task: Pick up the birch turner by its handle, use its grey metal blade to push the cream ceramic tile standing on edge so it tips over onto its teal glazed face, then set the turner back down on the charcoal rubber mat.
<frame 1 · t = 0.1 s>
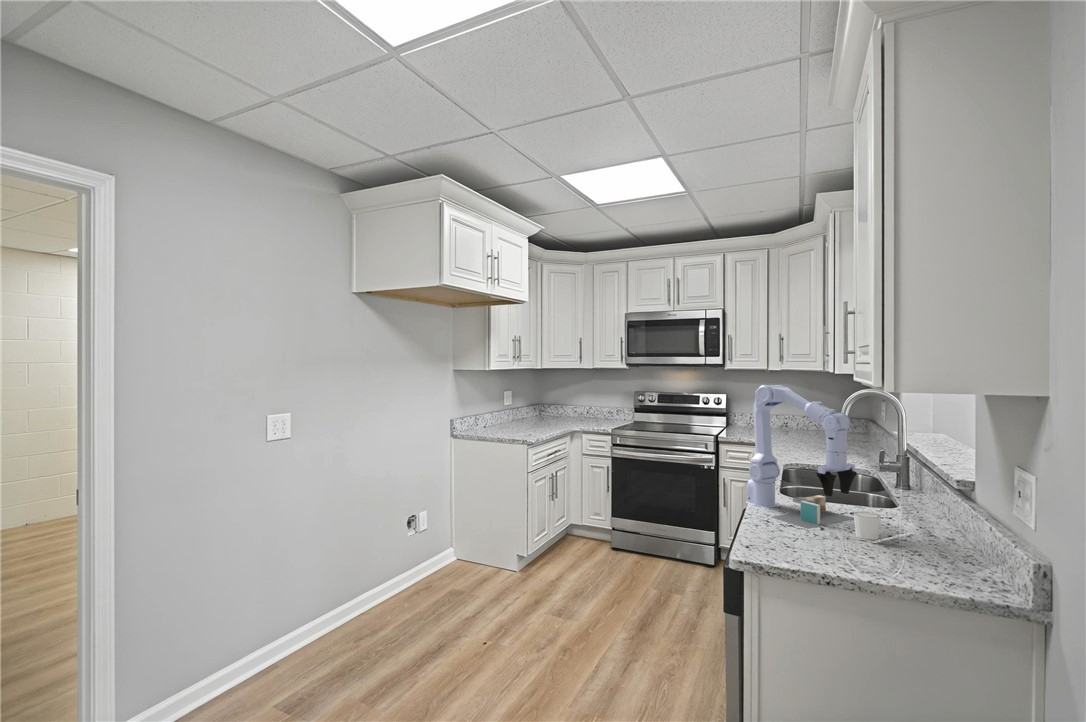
hand: (836, 494, 165), 10 cm above the worktop, tool pointing down, fingers open, 7 cm apart
tile: (810, 521, 168), point 1 cm above the worktop, touching mat
turner: (814, 511, 179), point 1 cm above the worktop, touching mat
white cup: (867, 539, 153), on the worktop
mat: (813, 519, 172), on the worktop
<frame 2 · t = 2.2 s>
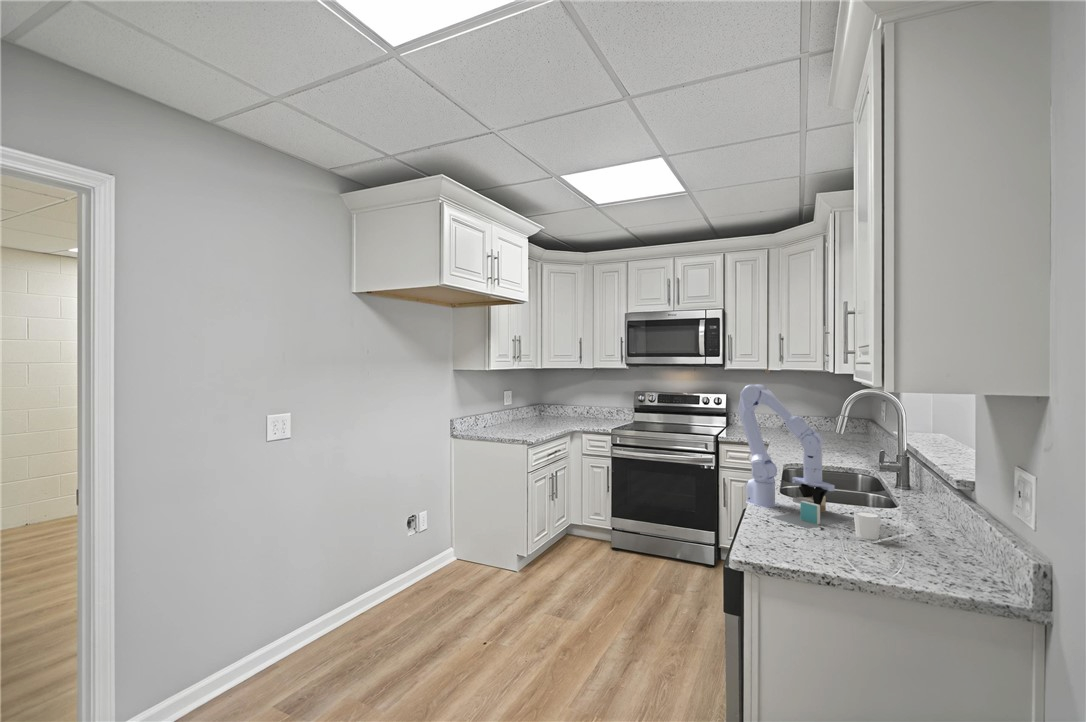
hand: (812, 508, 179), 2 cm above the worktop, tool pointing down, fingers closed on turner, 2 cm apart
turner: (814, 511, 179), point 1 cm above the worktop, touching gripper, mat
everything else where it was.
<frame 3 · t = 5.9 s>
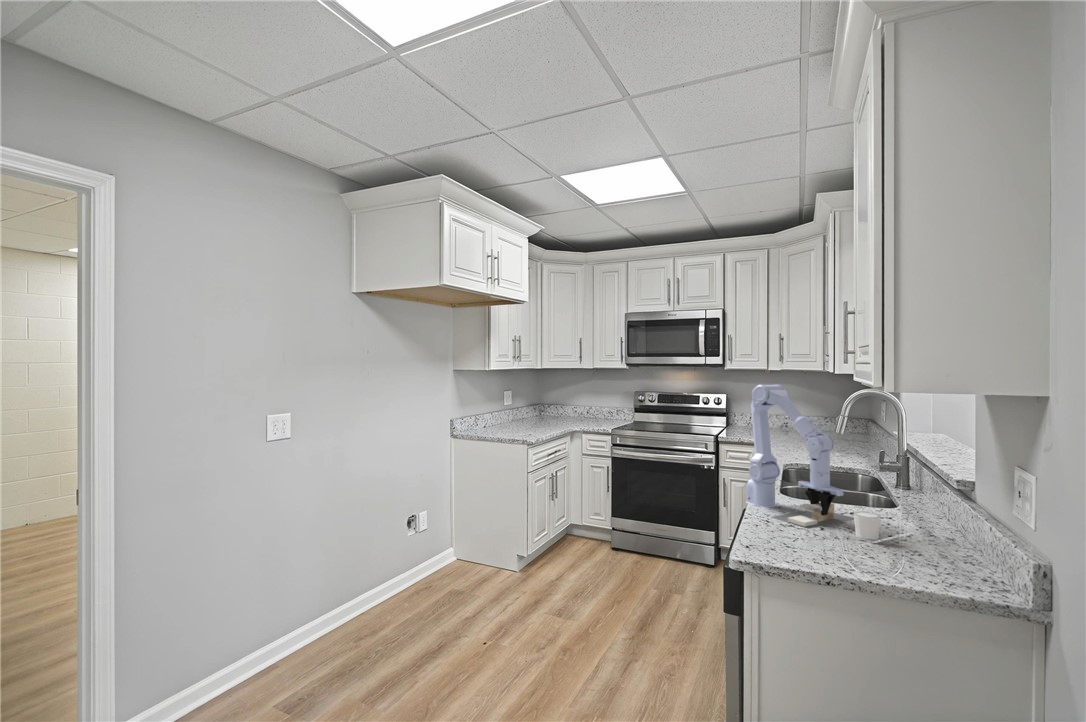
hand: (820, 513, 170), 3 cm above the worktop, tool pointing down, fingers closed on turner, 2 cm apart
tile: (808, 519, 167), point 1 cm above the worktop, tilted 90°, touching mat
turner: (822, 519, 171), point 1 cm above the worktop, touching gripper
everything else where it was.
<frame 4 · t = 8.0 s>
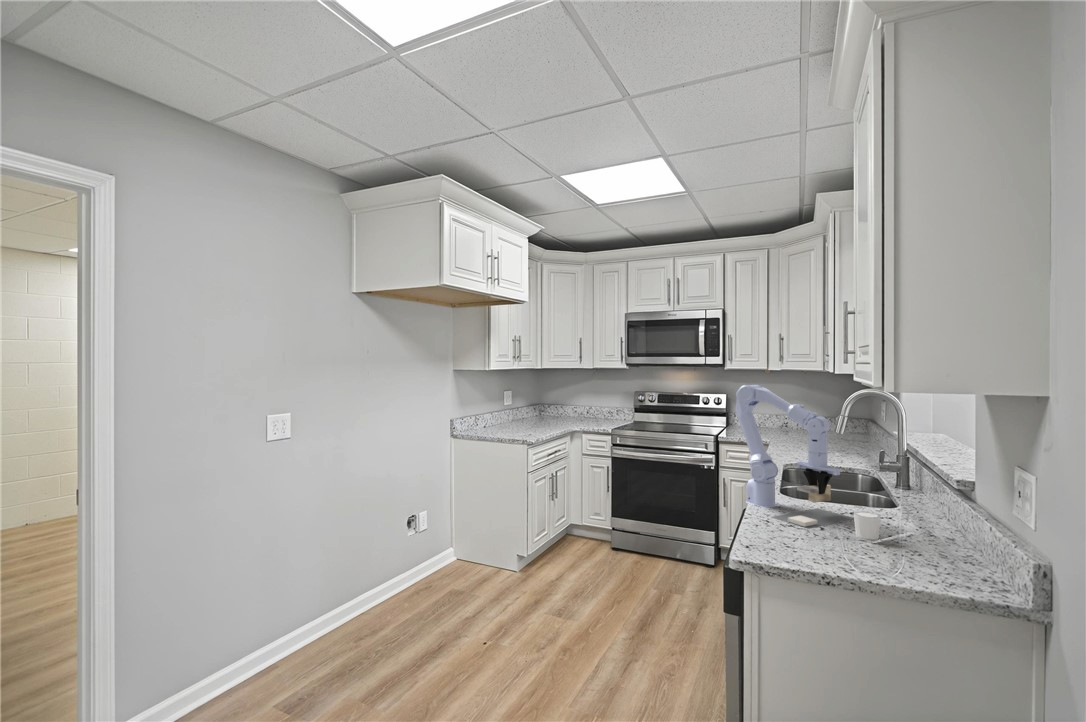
hand: (817, 492, 176), 8 cm above the worktop, tool pointing down, fingers closed on turner, 2 cm apart
turner: (819, 500, 177), point 5 cm above the worktop, touching gripper
everything else where it was.
when the fingers open (3 cm above the worktop, at t = 9.3 s): turner stays where it is, resting on mat.
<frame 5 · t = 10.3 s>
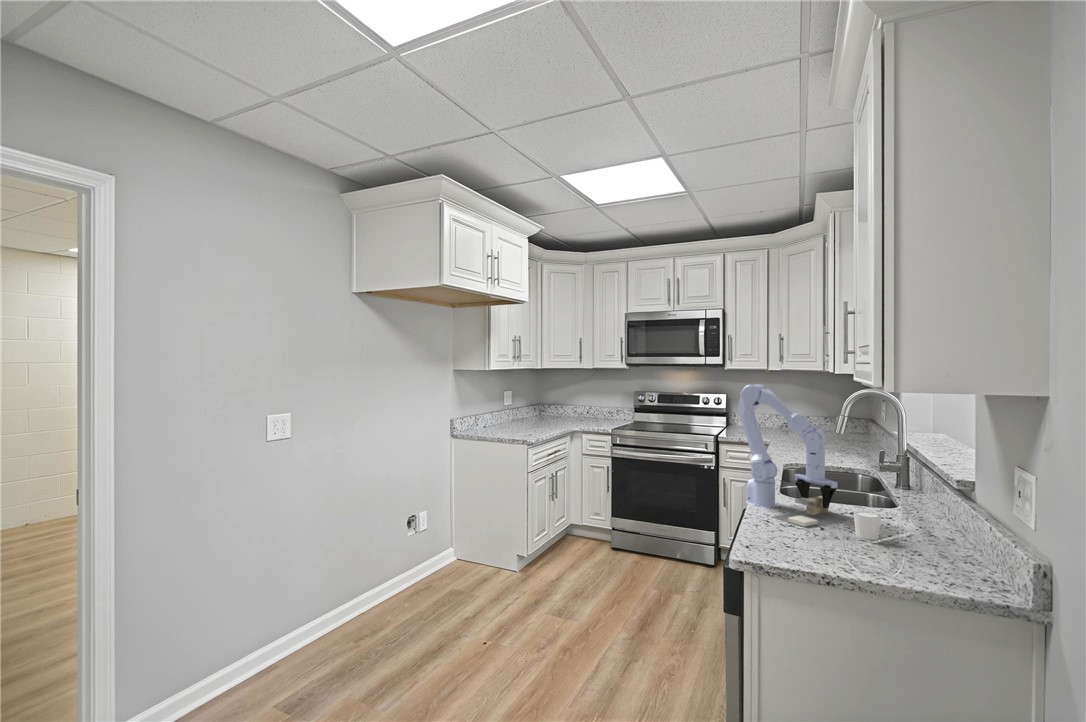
hand: (815, 505, 178), 3 cm above the worktop, tool pointing down, fingers open, 7 cm apart
turner: (817, 512, 178), point 1 cm above the worktop, touching mat
everything else where it was.
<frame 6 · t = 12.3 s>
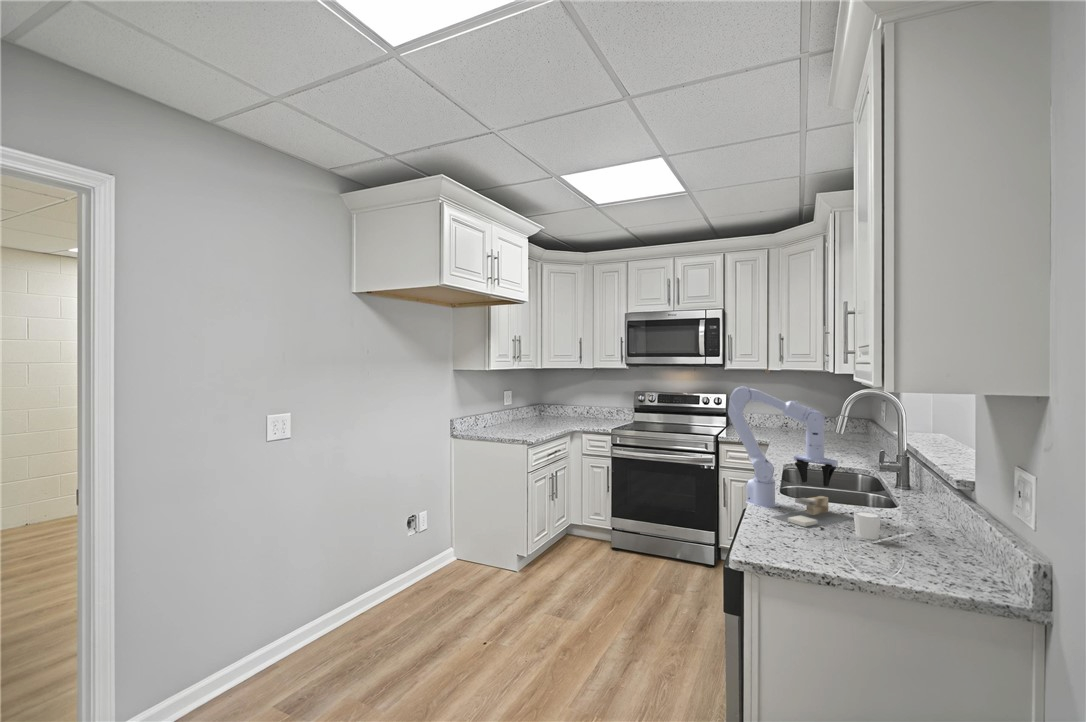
hand: (815, 484, 183), 9 cm above the worktop, tool pointing down, fingers open, 7 cm apart
nothing on the worktop moved.
at the end: tile tilted 90°; the gripper is holding nothing; turner inside the target area (0.4 cm from its centre), point 0.6 cm above the worktop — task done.
